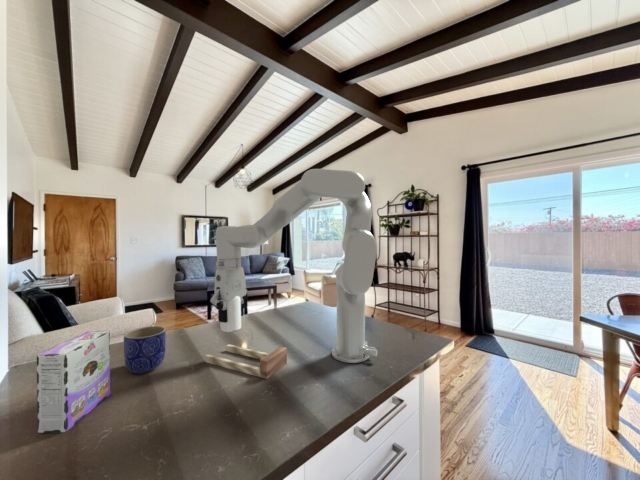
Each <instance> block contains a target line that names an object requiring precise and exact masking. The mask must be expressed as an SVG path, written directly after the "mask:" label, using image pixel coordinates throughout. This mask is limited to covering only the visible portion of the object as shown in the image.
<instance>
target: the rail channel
mask: <svg viewBox="0 0 640 480" xmlns="http://www.w3.org/2000/svg"><path fill="white" fill-rule="evenodd" d="M225 347H226V350H225V351H226V352H229V353H233V354H237V355H240V356H245V357H250V358H252V359H257V360H259V367H258V366H256V365H251V364H247V363H243V362H241V361H240V362H239V361H235V360H233V359H228V358H224V357H221V356H215V355H214V354H213V355H212V354H209V353H208V354H206V355H204V357H205V358H204V360H205V363H208V364H211V365H215V366H218V367H223V368H225V369H229V370H233V371H237V372H241V373H244V374H247V375H252V376H255V377H258V378H261V379H266V380H268V379H269V378H270V377H272V376H273V375H274V374H276V373H277V372H279V370H281V369H282V368H283V367H284V366H286V365H287V362H288V357H287V356H288V354H287V353H288V347H284V346H279V347H278V348H276V349H274V350H273V351H271V352H269V353H268V352H265V351H259V350H255V349H252V348H247V347H243V346H237V345H234V344H231V343H230V344H227V345H226V346H225Z"/></svg>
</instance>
